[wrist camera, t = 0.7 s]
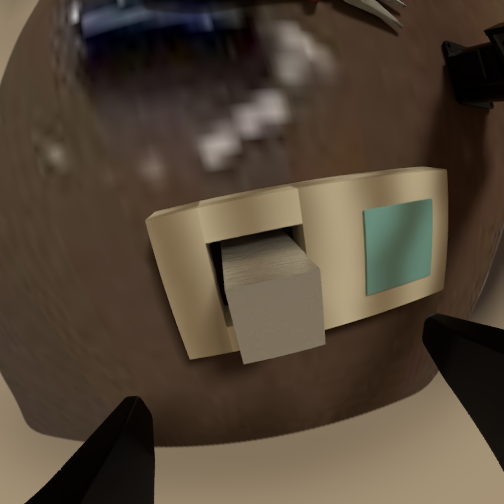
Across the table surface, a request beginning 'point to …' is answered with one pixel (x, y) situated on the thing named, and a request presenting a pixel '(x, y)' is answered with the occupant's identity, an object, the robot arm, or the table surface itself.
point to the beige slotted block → (311, 246)
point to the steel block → (272, 295)
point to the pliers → (375, 9)
